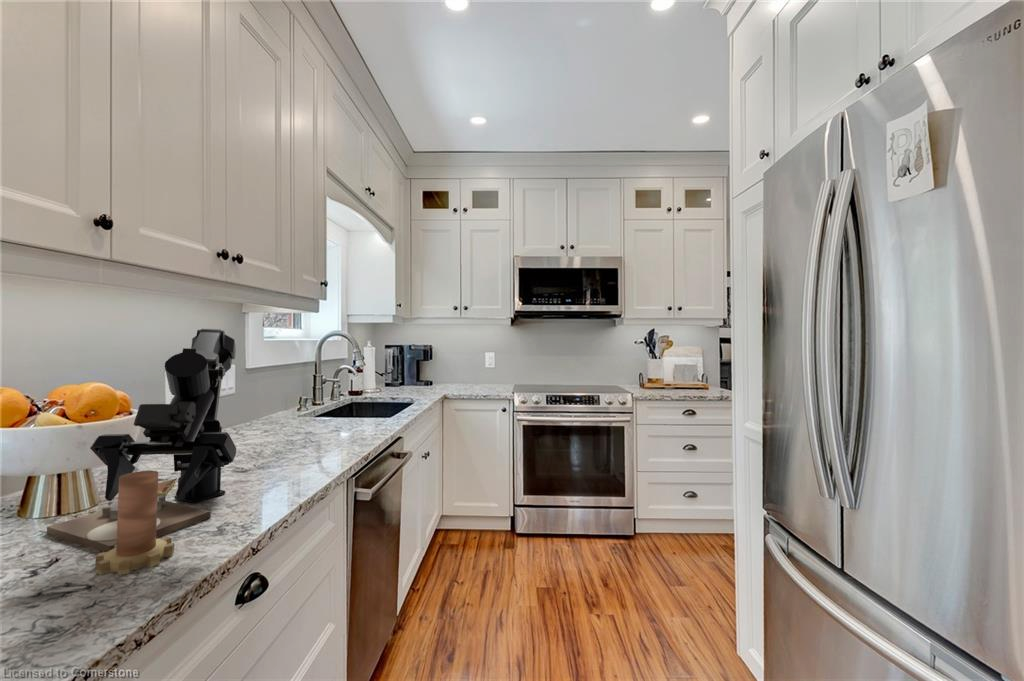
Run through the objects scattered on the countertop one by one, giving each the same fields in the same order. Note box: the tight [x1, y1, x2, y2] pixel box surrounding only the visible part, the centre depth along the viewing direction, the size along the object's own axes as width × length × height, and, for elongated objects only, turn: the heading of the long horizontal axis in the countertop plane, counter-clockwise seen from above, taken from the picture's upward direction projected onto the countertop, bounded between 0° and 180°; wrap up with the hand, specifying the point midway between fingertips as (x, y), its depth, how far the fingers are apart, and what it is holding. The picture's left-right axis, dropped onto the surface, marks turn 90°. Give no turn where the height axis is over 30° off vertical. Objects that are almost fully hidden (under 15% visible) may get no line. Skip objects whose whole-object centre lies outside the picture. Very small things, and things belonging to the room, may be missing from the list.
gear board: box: [46, 495, 211, 553], centre depth 75 cm, size 15×17×4 cm
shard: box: [157, 477, 178, 497], centre depth 91 cm, size 11×8×2 cm
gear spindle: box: [94, 470, 175, 576], centre depth 63 cm, size 9×9×12 cm
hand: (143, 498), depth 64 cm, fingers open, 9 cm apart
